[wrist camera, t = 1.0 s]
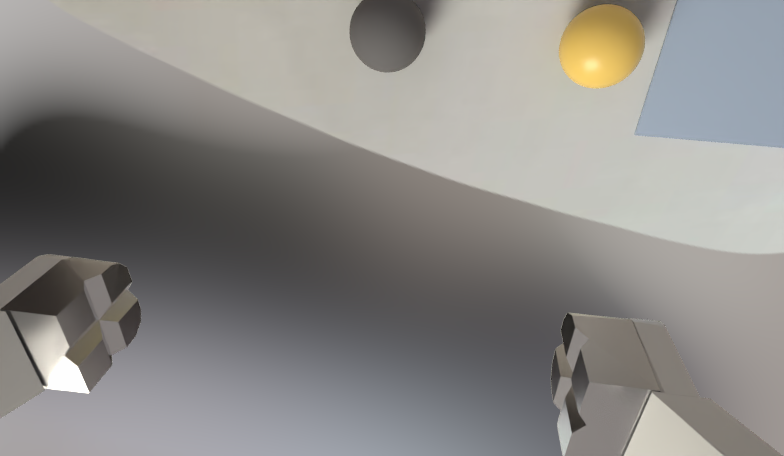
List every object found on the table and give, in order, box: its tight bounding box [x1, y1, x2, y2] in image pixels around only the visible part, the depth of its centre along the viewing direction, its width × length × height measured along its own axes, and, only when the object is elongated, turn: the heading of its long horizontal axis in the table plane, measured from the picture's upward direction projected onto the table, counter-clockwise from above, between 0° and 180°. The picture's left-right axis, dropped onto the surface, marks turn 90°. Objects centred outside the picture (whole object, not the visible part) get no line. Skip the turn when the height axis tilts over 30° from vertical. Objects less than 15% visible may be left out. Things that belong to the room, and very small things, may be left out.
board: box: [635, 0, 784, 148], centre depth 36 cm, size 14×14×1 cm
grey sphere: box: [350, 0, 425, 72], centre depth 36 cm, size 6×6×6 cm
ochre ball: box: [559, 4, 645, 88], centre depth 35 cm, size 6×6×6 cm
